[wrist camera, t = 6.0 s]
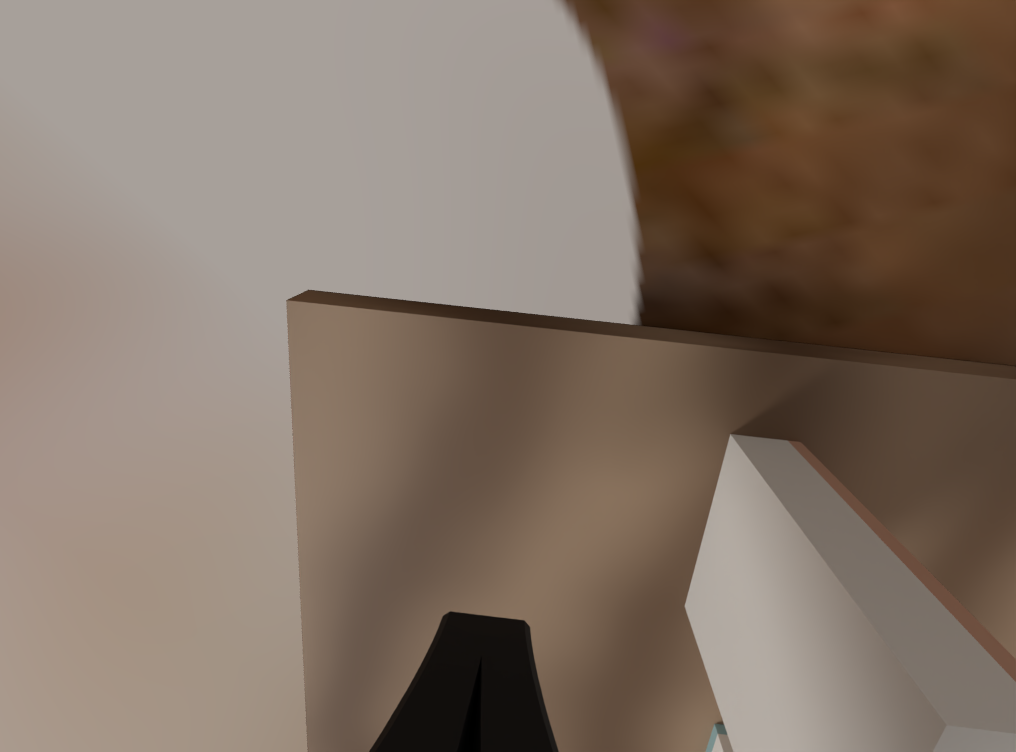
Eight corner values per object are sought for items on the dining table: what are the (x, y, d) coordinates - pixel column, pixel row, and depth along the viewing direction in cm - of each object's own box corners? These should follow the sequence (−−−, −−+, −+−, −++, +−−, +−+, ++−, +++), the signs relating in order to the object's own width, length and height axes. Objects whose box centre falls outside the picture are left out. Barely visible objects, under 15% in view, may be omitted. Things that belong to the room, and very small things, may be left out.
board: (1157, 381, 12) (1217, 401, 11) (891, 863, 19) (914, 906, 18) (308, 289, 13) (286, 300, 12) (324, 789, 19) (311, 827, 18)
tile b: (801, 441, 12) (1099, 744, 6) (746, 613, 14) (927, 997, 7) (730, 433, 12) (946, 725, 6) (684, 606, 14) (811, 982, 7)
